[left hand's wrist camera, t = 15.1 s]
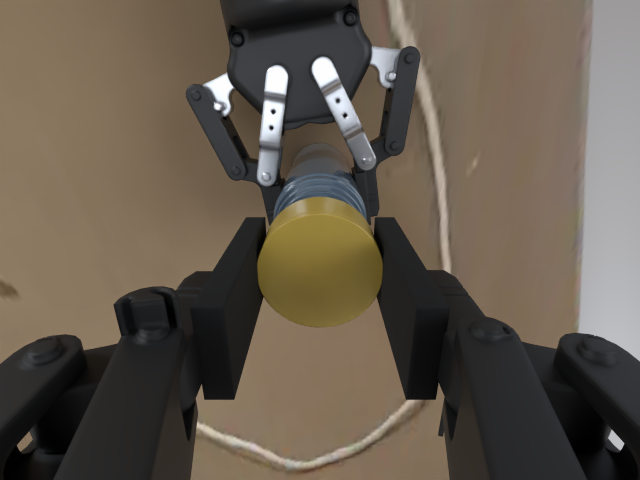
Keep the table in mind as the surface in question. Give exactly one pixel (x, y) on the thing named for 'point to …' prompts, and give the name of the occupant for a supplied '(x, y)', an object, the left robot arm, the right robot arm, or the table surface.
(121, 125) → the table surface
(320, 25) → the right robot arm
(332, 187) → the bottle
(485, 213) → the table surface
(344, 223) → the cap
